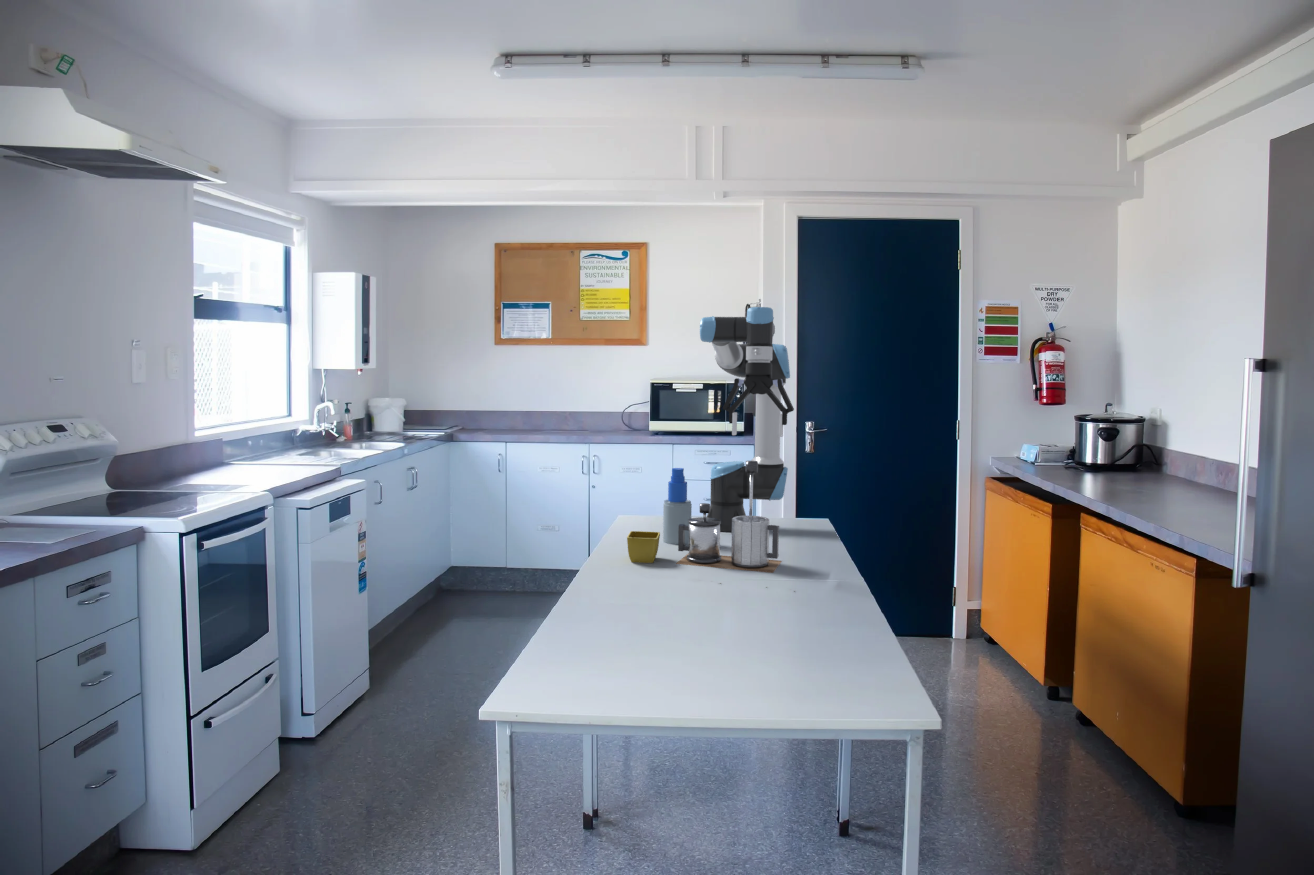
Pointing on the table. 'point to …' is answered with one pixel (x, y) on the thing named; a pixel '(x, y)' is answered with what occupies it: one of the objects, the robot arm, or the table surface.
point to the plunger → (751, 483)
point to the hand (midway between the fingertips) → (757, 435)
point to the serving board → (727, 564)
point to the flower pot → (643, 546)
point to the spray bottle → (676, 508)
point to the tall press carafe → (753, 542)
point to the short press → (701, 538)
